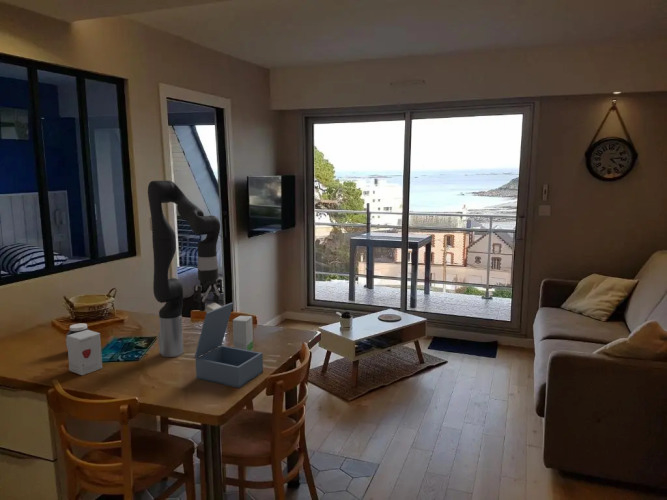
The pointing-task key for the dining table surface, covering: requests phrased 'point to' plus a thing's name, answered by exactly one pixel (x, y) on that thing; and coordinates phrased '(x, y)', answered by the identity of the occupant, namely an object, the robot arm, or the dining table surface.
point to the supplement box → (84, 352)
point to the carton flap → (213, 328)
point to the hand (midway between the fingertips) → (209, 308)
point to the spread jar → (76, 329)
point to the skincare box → (243, 333)
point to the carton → (229, 366)
